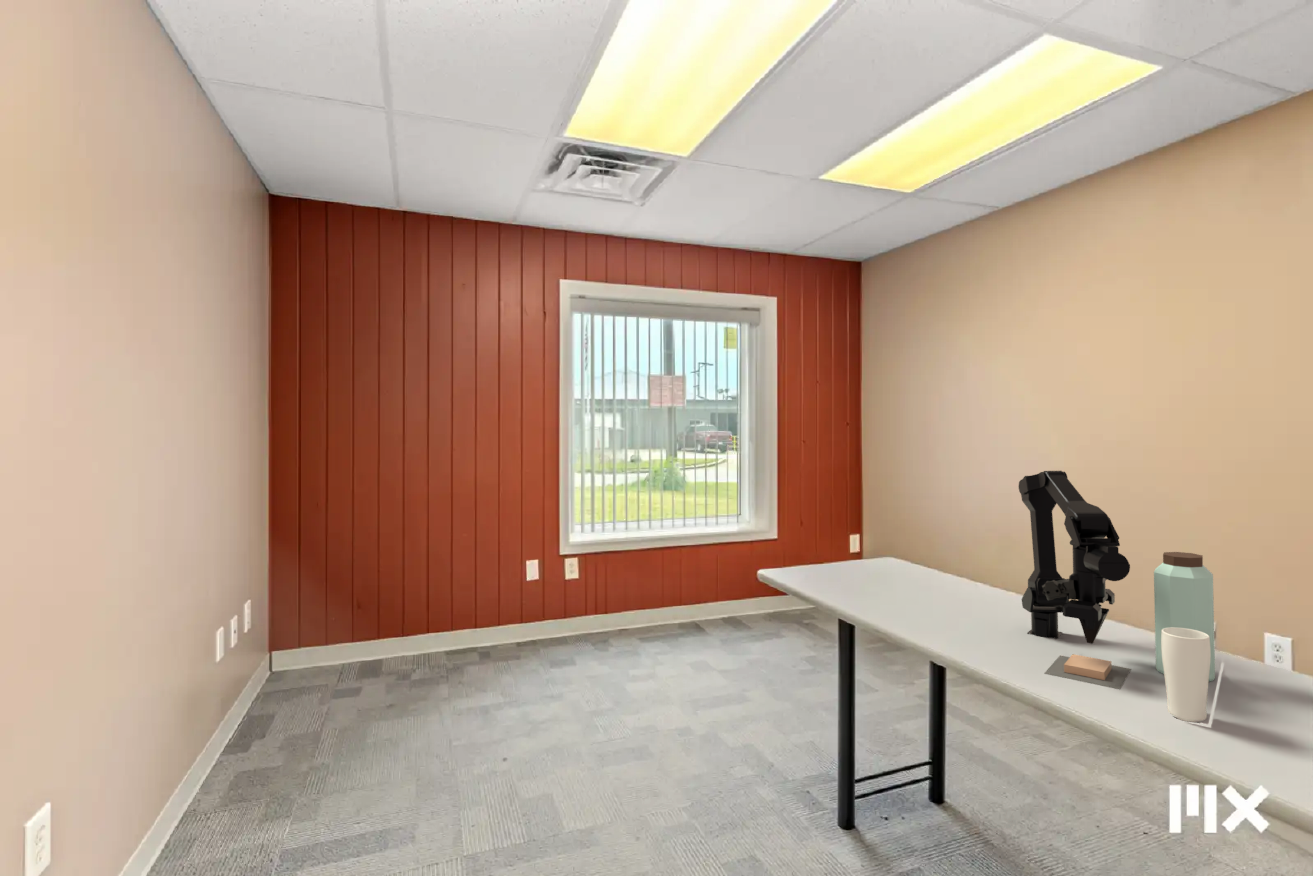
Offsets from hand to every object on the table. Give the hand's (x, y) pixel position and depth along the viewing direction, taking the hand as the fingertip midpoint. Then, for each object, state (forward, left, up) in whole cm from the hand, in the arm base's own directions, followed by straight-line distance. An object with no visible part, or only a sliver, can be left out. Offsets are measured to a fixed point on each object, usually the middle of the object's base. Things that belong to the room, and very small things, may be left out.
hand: (1090, 642), depth 138 cm
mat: (+4, 0, -6) cm, 7 cm away
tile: (0, 0, -4) cm, 4 cm away
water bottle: (-7, +15, -6) cm, 18 cm away
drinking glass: (+16, +17, -6) cm, 24 cm away
